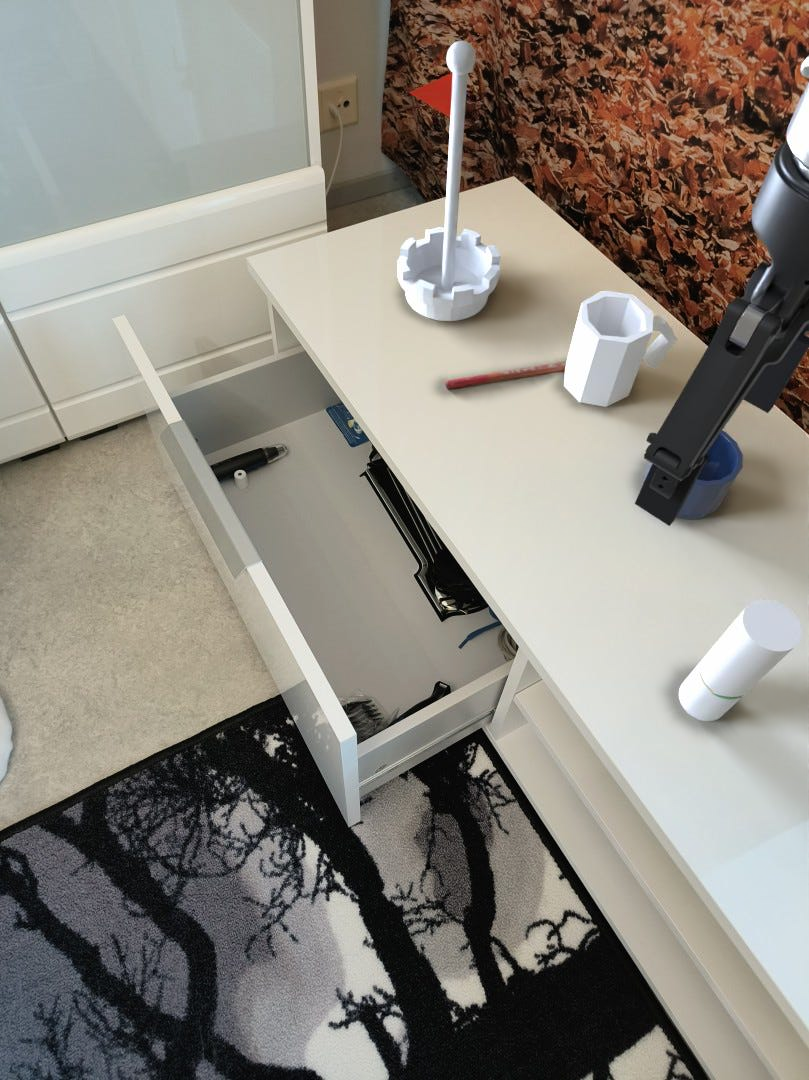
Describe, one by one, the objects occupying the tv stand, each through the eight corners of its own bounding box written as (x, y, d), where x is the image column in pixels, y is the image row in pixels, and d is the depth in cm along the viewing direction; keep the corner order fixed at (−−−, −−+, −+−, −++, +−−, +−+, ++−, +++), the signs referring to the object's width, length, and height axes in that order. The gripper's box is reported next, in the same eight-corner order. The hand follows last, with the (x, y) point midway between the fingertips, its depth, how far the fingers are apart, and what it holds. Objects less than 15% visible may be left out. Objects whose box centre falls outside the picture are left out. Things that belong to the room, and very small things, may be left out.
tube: (669, 698, 67) (731, 624, 55) (695, 667, 69) (761, 588, 56) (709, 731, 66) (783, 662, 53) (736, 698, 67) (812, 625, 55)
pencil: (446, 391, 88) (446, 385, 88) (444, 384, 89) (444, 379, 88) (596, 366, 91) (598, 360, 90) (593, 360, 91) (595, 354, 90)
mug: (574, 411, 86) (592, 347, 78) (553, 359, 91) (568, 294, 83) (671, 398, 88) (699, 334, 79) (645, 347, 92) (670, 282, 84)
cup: (734, 481, 81) (756, 446, 76) (701, 532, 77) (722, 499, 72) (663, 446, 84) (680, 409, 79) (629, 494, 80) (644, 458, 75)
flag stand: (499, 266, 101) (531, 16, 76) (492, 331, 94) (525, 79, 69) (405, 257, 102) (405, 8, 77) (390, 321, 95) (386, 69, 70)
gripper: (893, 41, 41) (745, 339, 59) (648, 248, 31) (558, 531, 49) (1036, 88, 38) (835, 385, 56) (818, 332, 28) (657, 600, 46)
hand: (706, 453), depth 52 cm, fingers open, 13 cm apart
